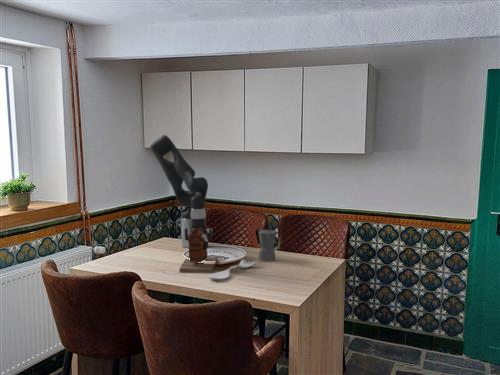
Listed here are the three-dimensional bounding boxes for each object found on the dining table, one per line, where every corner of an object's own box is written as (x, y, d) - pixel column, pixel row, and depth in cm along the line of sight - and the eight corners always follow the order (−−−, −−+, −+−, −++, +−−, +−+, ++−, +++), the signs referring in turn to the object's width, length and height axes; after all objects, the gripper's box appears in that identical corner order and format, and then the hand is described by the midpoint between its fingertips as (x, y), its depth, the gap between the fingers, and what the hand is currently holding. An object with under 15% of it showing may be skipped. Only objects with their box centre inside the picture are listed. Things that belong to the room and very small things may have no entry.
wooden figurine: (198, 263, 242) (197, 228, 240) (187, 261, 245) (186, 226, 243) (210, 257, 253) (209, 223, 250) (199, 255, 256) (199, 222, 253)
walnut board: (187, 259, 261) (187, 256, 260) (217, 260, 260) (217, 256, 260) (179, 272, 239) (179, 268, 239) (211, 272, 238) (211, 268, 238)
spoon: (257, 267, 248) (257, 260, 248) (219, 284, 222) (219, 277, 222) (243, 264, 253) (243, 257, 253) (204, 280, 227) (204, 273, 227)
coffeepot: (282, 259, 260) (282, 226, 258) (269, 263, 254) (270, 229, 251) (261, 254, 271) (261, 222, 269) (249, 257, 265) (249, 225, 262)
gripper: (182, 218, 243) (183, 250, 245) (211, 218, 242) (211, 250, 244) (185, 215, 250) (186, 246, 252) (213, 215, 249) (213, 246, 252)
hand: (198, 248), depth 248 cm, fingers closed on wooden figurine, 7 cm apart
